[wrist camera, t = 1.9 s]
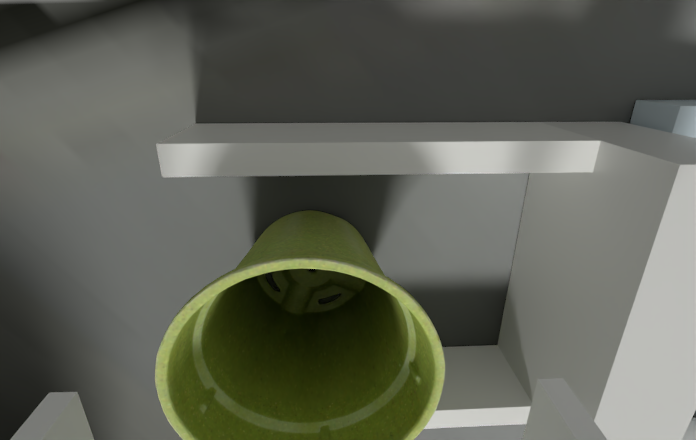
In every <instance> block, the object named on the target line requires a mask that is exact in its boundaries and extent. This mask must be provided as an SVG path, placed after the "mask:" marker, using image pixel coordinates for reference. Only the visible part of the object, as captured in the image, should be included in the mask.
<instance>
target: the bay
mask: <svg viewBox="0 0 696 440" xmlns="http://www.w3.org/2000/svg"><path fill="white" fill-rule="evenodd" d="M156 146H157V152H158V157H159V163H160V168H161V174H162V177H227V176H313V175H400V174H486V173H530V174H529V179H528V184H527V190H526V195H525V200H524V206H523V211H522V216H521V222H520V227H519V232H518V238H517V243H516V248H515V254H514V259H513V264H512V270H511V275H510V280H509V286H508V291H507V296H506V302H505V307H504V312H503V318H502V323H501V328H500V334H499V339H498V344H497V345H486V346H458V347H442V348H443V352H444V357H445V379H444V384H443V390H442V394H441V397H440V400H439V403H438V405H437V408H436V411H435V412H434V414H433V416H432V417H431V419H430V421H429V422H428V423H427V425H426V426H425V428H424V429H429V428H450V427H472V426H493V425H514V424H526V423H527V419H528V415H529V411H530V408H531V404H532V400H533V396H534V392H535V388H536V384H537V380H538V379H555V378H563V379H564V380H565V381H566V383H567V384H568V386H569V387H570V388H571V390H572V391H573V393H574V394H575V395H576V397H577V398H578V399H579V401H580V402H581V404H582V405H583V406H584V408H585V409H586V411H587V412H588V413H589V415H590V416H591V418H592V419H593V420H594V422H595V423H596V425H597V426H598V427H599V429H600V430H601V432H602V433H603V434H604V436H605V437H606V439H607V440H682V439H683V436H684V434H685V432H686V430H687V428H688V426H689V423H690V421H691V419H692V417H693V415H694V413H695V411H696V138H693V137H688V136H684V135H679V134H674V133H670V132H665V131H661V130H656V129H652V128H647V127H642V126H638V125H633V124H629V123H624V122H421V123H195V124H193V125H191V126H189V127H188V128H186V129H184V130H182V131H180V132H178V133H176V134H174V135H172V136H170V137H168V138H166V139H164V140H162V141H161V142H159V143H157V144H156Z"/></svg>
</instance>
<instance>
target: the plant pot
mask: <svg viewBox="0 0 696 440" xmlns="http://www.w3.org/2000/svg"><path fill="white" fill-rule="evenodd" d="M308 269H316V270H315V271H314V272H310V271H308ZM268 272H270V273H271V275H272V277H273V280H274V282H275V283H276V286H278V288H279V289H280V291H275V290H274V289H273V288H272V287H271V286H270V284H269V283H268V281H267V280H266V277H265V275H266V273H268ZM338 293H341V294H340V296H339V297H338V298H337V299H335V300H334V301H332V302H330V303H325V304H319V303H318V301H319V300H320V299H324V298H327V297H330V296H333V295H337V294H338ZM444 379H445V357H444V352H443V348H442V344H441V341H440V338H439V336H438V333H437V331H436V329H435V327H434V325H433V323H432V322H431V320H430V318H429V316H428V315H427V313H426V312H425V310H424V309H423V308H422V306H421V305H420V304H419V303H418V302H417V301H416V300H415V299H414V298H413V297H412V296H411V295H410V294H409V293H408V292H407V291H406V290H405V289H404V288H402V287H401V286H400V285H398V284H397V283H395V282H394V281H392V280H391V279H390V278H388V277H386V276H385V275H384V274H383V272H382V270H381V269H380V267H379V265H378V264H377V262H376V260H375V258H374V257H373V255H372V253H371V251H370V249H369V248H368V246H367V244H366V243H365V241H364V239H363V238H362V236H361V235H360V233H359V232H358V231H357V230H356V229H355V228H354V227H353V226H352V225H351V224H350V223H349V222H347V221H345V220H343V219H341V218H339V217H336V216H333V215H330V214H327V213H324V212H321V211H312V210H307V211H299V212H295V213H291V214H288V215H286V216H284V217H282V218H280V219H278V220H277V221H275V222H274V223H272V224H271V225H270V226H269V227H268V228H267V229H266V230H265V231H264V232H263V233H262V235H261V236H260V237H259V238H258V240H257V241H256V242H255V244H254V245H253V247H252V248H251V249H250V251H249V252H248V253H247V255H246V256H245V257H244V259H243V260H242V261H241V262H240V264H239V265H238V266H237V268H236V269H234V270H232V271H230V272H228V273H226V274H225V275H223V276H221V277H219V278H217V279H216V280H214V281H213V282H211V283H210V284H208V285H207V286H205V287H204V288H203V289H202V290H201V291H199V292H198V293H197V294H196V295H194V296H193V297H192V298H191V299H190V300H189V301H188V302H187V303H186V304H185V305H184V306H183V307H182V309H181V310H180V311H179V312H178V313H177V315H176V316H175V317H174V319H173V320H172V322H171V324H170V325H169V327H168V329H167V331H166V333H165V334H164V337H163V339H162V342H161V344H160V348H159V351H158V353H157V358H156V366H155V384H156V389H157V393H158V397H159V401H160V403H161V406H162V409H163V412H164V413H165V415H166V417H167V420H168V421H169V423H170V424H171V426H172V427H173V428H174V430H175V431H176V432H177V433H178V435H179V436H180V437H181V438H182V439H183V440H414V439H415V438H416V437H417V436H418V435H419V434H420V432H421V431H422V430H423V429H424V428H425V426H426V425H427V423H428V422H429V421H430V419H431V417H432V416H433V414H434V412H435V411H436V408H437V405H438V403H439V400H440V397H441V394H442V390H443V384H444Z"/></svg>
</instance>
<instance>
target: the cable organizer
mask: <svg viewBox="0 0 696 440" xmlns="http://www.w3.org/2000/svg"><path fill="white" fill-rule="evenodd" d="M682 440H696V418H692V419H691V421H690V423H689V426H688V428H687V430H686V432H685V434H684V436H683V439H682Z"/></svg>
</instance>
